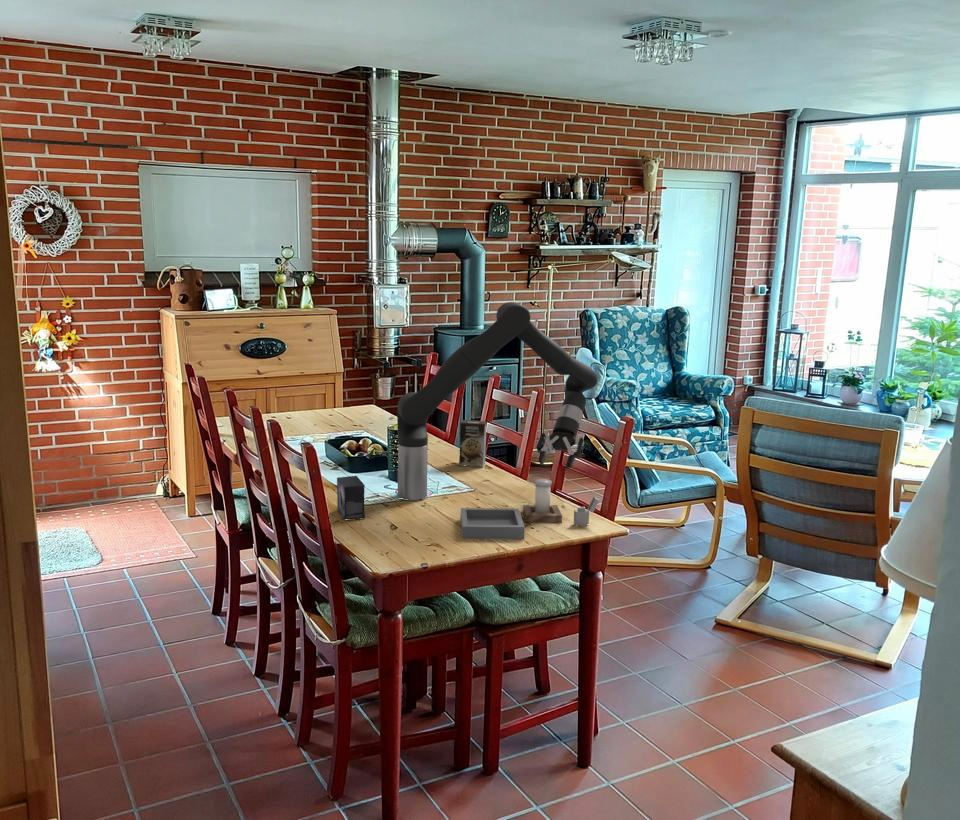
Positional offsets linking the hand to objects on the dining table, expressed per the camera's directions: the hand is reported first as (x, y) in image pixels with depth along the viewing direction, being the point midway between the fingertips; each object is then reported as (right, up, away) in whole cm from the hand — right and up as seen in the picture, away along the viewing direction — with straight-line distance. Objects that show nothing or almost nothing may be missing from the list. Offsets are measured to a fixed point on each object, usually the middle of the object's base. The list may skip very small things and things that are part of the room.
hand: (554, 465), depth 271 cm
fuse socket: (-4, -15, -6) cm, 16 cm away
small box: (-61, -14, -8) cm, 63 cm away
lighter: (+8, -17, -12) cm, 22 cm away
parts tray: (-19, -17, -18) cm, 32 cm away
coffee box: (-26, -3, +53) cm, 59 cm away
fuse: (-4, -15, -6) cm, 16 cm away
